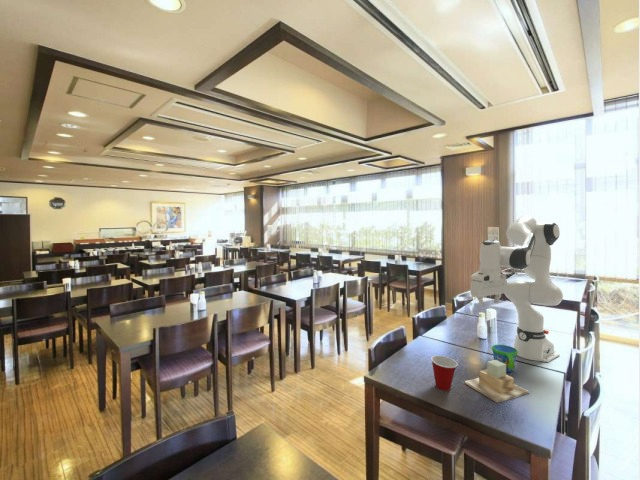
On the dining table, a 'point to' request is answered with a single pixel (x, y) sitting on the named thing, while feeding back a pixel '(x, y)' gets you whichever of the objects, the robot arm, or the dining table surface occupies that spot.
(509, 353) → the snack cup
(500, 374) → the sage cube
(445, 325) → the dining table surface
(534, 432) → the dining table surface
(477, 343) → the dining table surface
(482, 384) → the foundation base
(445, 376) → the plastic cup
